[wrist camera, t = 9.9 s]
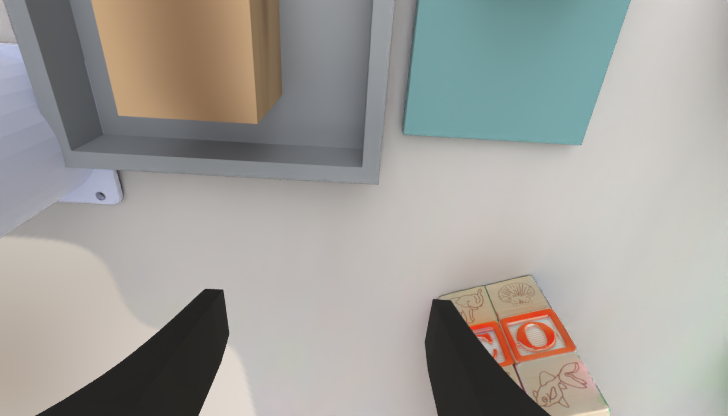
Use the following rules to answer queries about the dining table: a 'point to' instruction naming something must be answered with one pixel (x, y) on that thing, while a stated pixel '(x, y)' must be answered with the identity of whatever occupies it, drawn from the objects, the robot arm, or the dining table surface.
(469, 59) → the teal board
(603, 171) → the dining table surface
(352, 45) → the tray
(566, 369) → the stack of blocks
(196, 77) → the plain box
